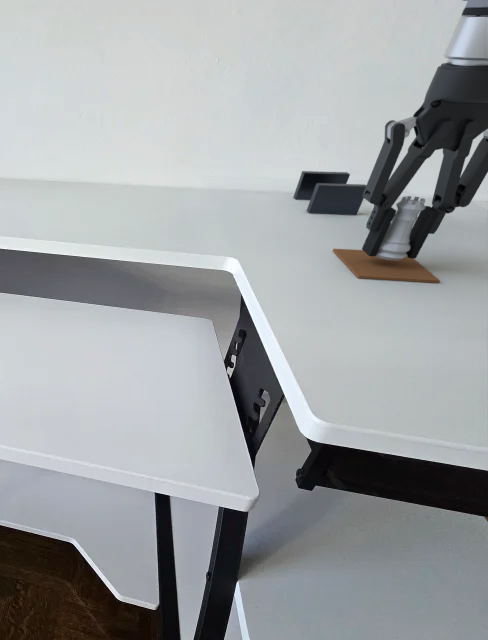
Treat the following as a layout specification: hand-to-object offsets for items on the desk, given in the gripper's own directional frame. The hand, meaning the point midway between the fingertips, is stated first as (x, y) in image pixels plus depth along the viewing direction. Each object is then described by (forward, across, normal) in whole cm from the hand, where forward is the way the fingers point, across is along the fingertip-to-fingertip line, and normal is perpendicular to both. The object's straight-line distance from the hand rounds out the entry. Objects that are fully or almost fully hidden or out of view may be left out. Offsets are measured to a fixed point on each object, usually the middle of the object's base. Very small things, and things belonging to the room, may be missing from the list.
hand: (388, 253), depth 71 cm
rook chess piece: (0, 0, 0) cm, 0 cm away
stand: (+2, -1, -28) cm, 29 cm away
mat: (+2, 0, 0) cm, 2 cm away
